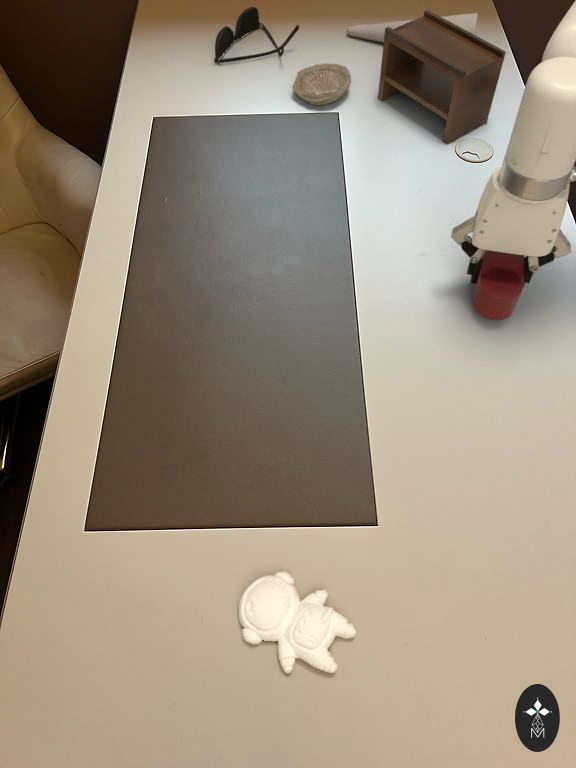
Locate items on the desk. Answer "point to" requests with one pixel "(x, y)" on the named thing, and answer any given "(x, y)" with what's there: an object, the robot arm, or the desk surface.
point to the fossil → (322, 83)
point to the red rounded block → (498, 284)
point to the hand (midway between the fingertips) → (496, 279)
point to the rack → (442, 71)
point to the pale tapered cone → (378, 30)
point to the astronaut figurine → (292, 621)
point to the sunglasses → (244, 25)
